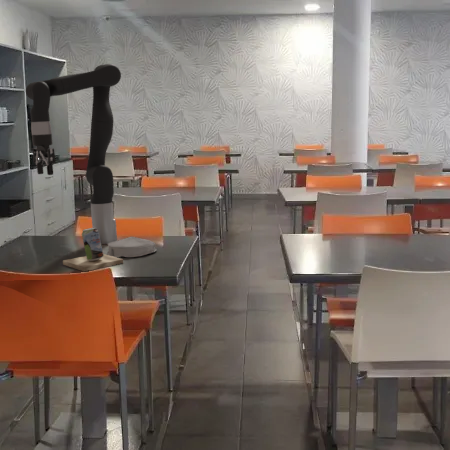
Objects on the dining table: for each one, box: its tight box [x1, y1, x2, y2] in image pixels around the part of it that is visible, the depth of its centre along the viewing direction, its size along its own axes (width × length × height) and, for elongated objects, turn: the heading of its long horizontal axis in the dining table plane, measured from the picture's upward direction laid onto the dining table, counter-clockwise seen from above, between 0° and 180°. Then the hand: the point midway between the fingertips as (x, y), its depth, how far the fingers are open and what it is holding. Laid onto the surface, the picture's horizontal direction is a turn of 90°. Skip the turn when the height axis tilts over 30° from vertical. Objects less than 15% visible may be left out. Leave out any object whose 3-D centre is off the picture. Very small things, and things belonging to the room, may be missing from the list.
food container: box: [106, 236, 157, 258], centre depth 250 cm, size 20×20×7 cm
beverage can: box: [81, 227, 104, 261], centre depth 231 cm, size 6×7×12 cm
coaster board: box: [62, 253, 124, 272], centre depth 233 cm, size 16×16×2 cm
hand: (45, 174), depth 253 cm, fingers open, 8 cm apart
